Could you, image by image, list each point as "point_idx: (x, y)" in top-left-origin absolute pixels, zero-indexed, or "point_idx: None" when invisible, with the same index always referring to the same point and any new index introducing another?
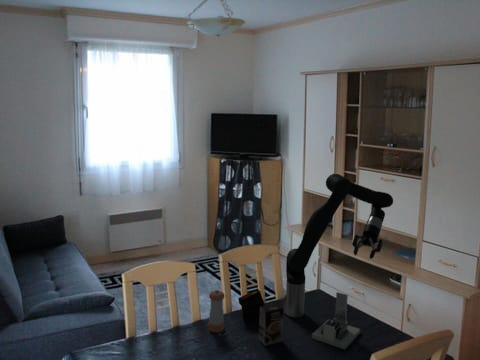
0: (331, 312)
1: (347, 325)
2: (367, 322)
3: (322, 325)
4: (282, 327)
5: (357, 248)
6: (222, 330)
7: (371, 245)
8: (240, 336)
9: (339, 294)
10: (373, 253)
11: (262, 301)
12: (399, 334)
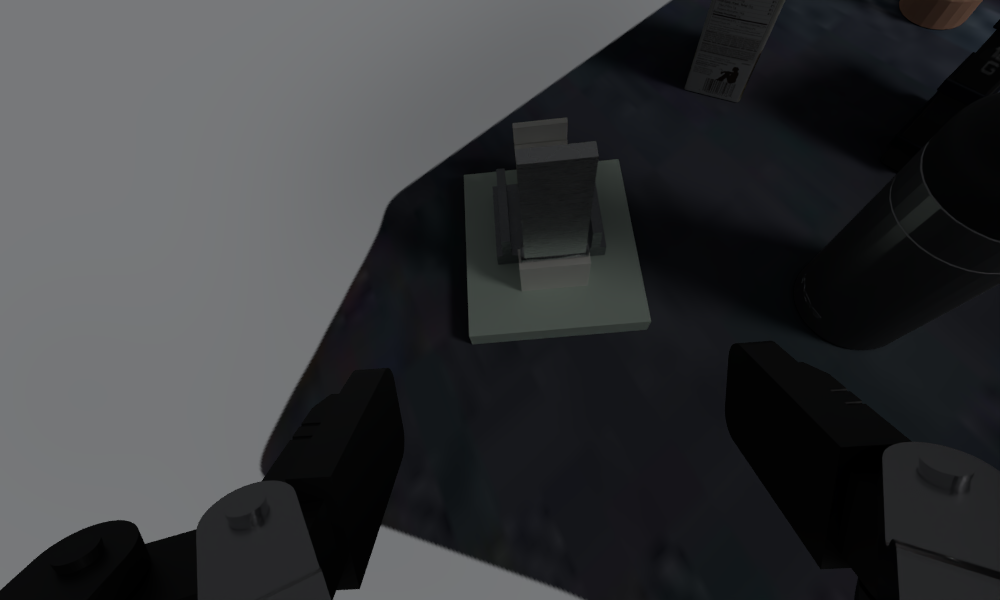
0: (717, 460)
1: (501, 242)
2: (488, 485)
3: (632, 248)
4: (701, 34)
5: (815, 450)
6: (902, 9)
7: (306, 572)
8: (820, 27)
9: (571, 146)
10: (293, 447)
11: (958, 72)
12: None
